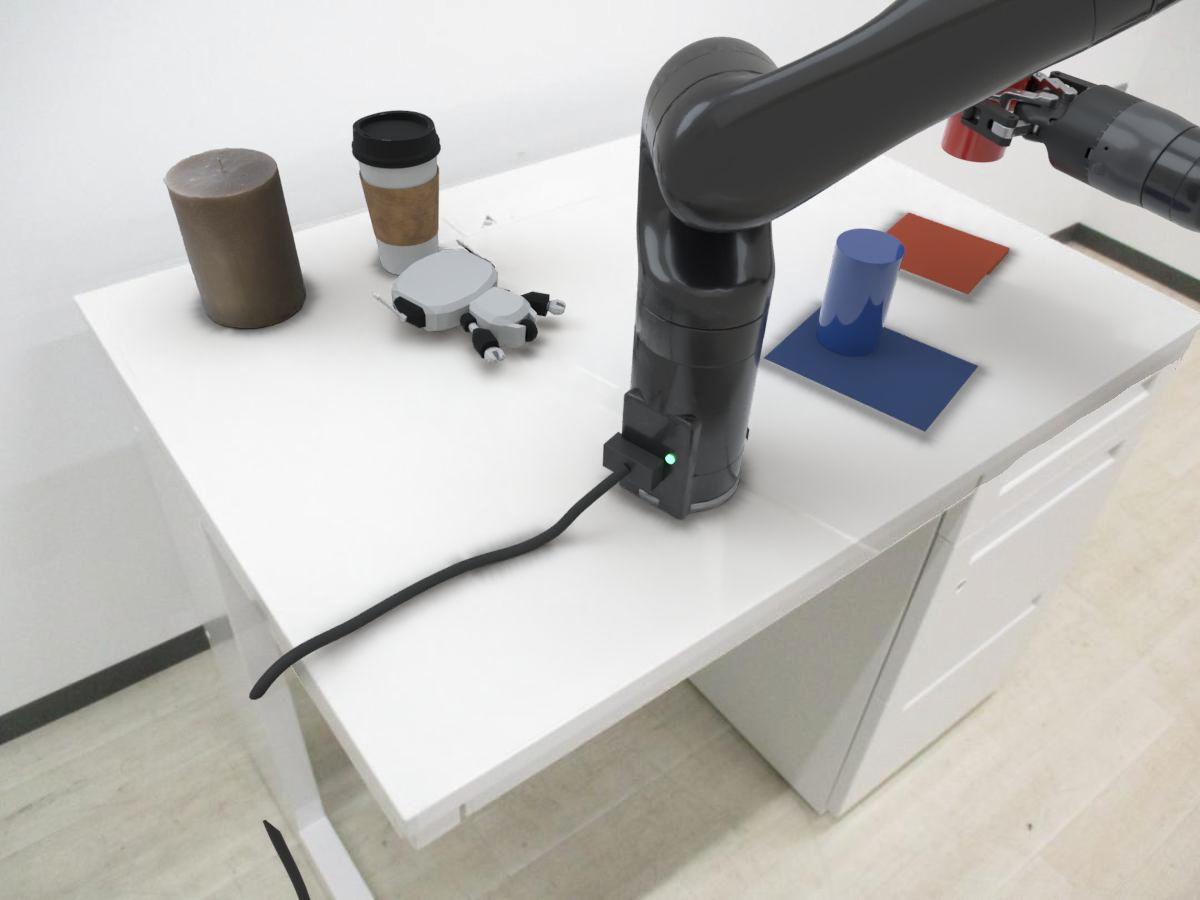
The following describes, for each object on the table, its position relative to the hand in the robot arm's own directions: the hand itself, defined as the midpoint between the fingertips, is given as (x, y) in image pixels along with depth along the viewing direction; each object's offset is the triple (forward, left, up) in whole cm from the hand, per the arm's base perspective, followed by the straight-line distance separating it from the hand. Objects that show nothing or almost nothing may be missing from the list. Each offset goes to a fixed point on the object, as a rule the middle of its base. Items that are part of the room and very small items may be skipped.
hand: (970, 78), depth 90 cm
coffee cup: (-36, +41, -20) cm, 58 cm away
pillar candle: (-51, +47, -20) cm, 72 cm away
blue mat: (-21, -5, -19) cm, 29 cm away
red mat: (+2, -1, -19) cm, 20 cm away
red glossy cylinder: (-1, -2, -6) cm, 6 cm away
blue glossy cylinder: (-19, -1, -19) cm, 27 cm away
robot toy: (-40, +28, -20) cm, 53 cm away
